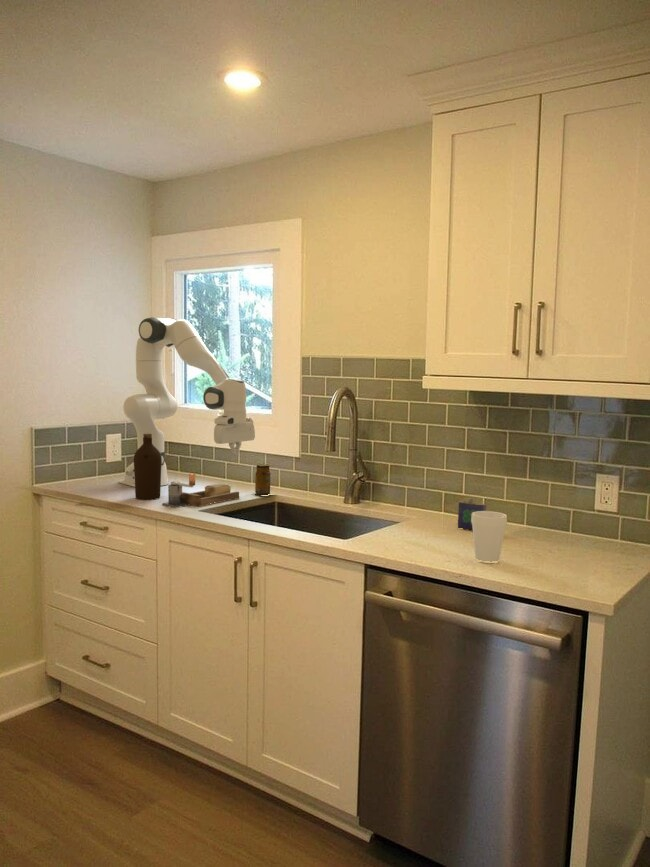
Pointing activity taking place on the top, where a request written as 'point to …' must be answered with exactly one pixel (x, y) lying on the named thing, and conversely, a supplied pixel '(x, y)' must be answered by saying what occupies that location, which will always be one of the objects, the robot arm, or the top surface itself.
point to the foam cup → (488, 534)
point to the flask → (468, 512)
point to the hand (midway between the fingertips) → (235, 453)
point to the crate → (216, 489)
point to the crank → (191, 483)
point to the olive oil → (147, 470)
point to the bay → (206, 498)
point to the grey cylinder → (175, 496)
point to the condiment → (262, 480)
